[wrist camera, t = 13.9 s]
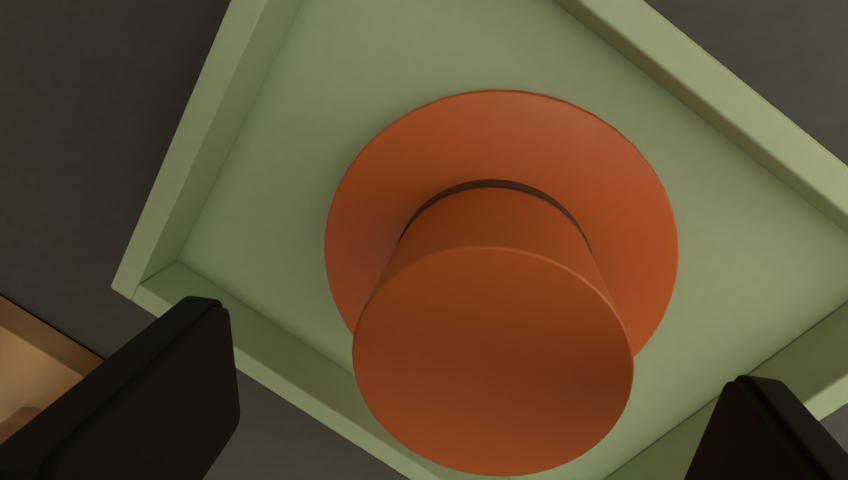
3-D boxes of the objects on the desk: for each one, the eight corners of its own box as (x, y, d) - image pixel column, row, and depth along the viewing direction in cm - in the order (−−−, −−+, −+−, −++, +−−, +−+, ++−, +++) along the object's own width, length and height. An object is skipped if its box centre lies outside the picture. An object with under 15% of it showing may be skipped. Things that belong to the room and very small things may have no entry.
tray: (162, 256, 17) (109, 287, 15) (369, -187, 11) (334, -252, 9) (560, 517, 19) (568, 581, 17) (920, 255, 13) (1012, 299, 11)
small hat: (276, 286, 16) (175, 389, 11) (453, 4, 12) (420, -35, 7) (516, 446, 17) (523, 607, 12) (757, 238, 13) (920, 353, 8)
